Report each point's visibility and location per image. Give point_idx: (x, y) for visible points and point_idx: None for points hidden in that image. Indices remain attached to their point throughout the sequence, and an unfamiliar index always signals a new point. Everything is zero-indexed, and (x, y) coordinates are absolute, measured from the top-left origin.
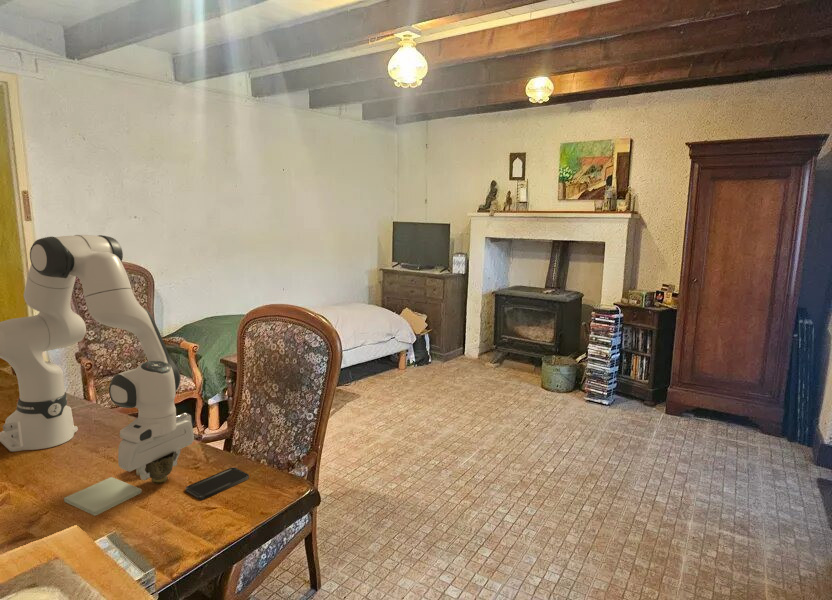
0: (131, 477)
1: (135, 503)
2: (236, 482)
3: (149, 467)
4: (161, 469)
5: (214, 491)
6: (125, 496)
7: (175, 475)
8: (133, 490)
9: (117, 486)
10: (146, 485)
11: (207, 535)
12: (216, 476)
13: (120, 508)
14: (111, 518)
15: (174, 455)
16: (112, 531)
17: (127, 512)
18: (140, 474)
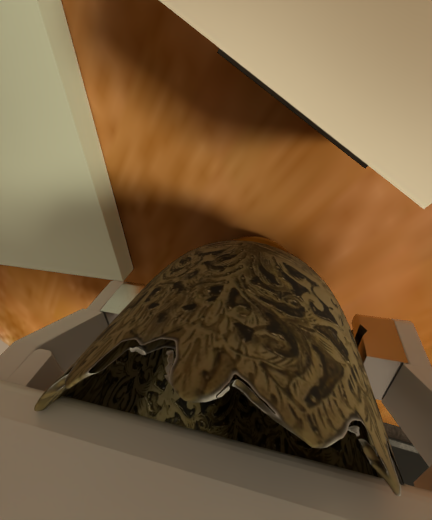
0: (182, 22)
1: (85, 302)
2: None
3: (119, 382)
4: (189, 407)
5: None
6: (47, 267)
7: (360, 292)
8: (89, 259)
9: (27, 139)
10: (185, 235)
11: None
12: (400, 448)
13: (34, 281)
14: (3, 298)
15: (424, 426)
16: (2, 338)
17: (50, 315)
18: (96, 299)
